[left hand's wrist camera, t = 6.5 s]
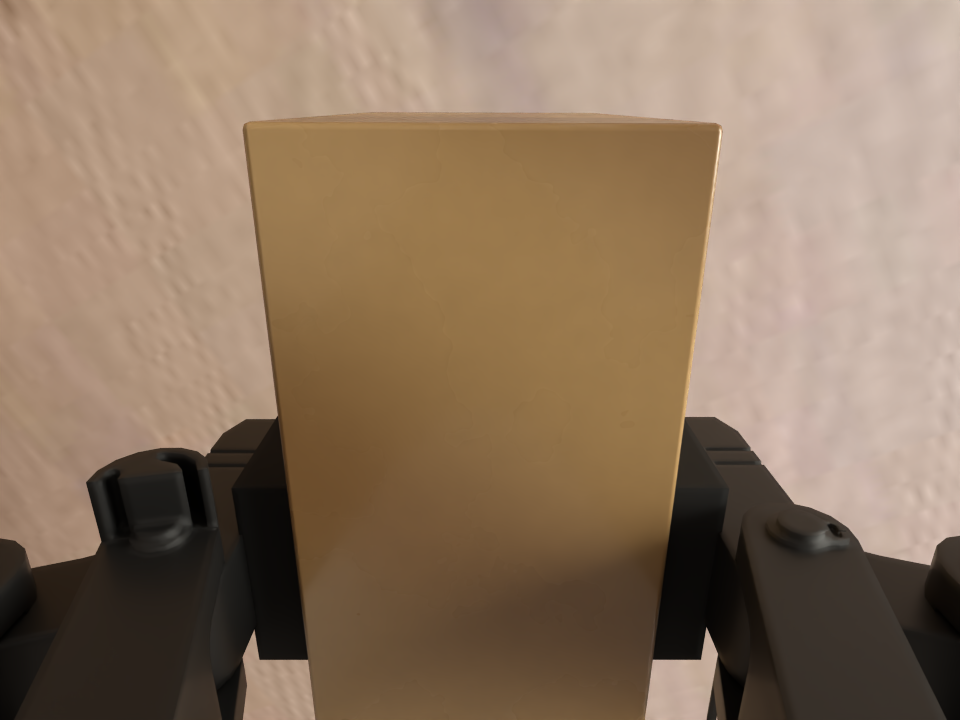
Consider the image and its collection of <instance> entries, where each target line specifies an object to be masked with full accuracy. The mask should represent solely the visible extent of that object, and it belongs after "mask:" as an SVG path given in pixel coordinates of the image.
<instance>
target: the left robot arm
mask: <svg viewBox="0 0 960 720" xmlns="http://www.w3.org/2000/svg"><path fill="white" fill-rule="evenodd" d="M86 484H87V488H88V492H89V495H90V499H91V503H92V507H93V511H94V515H95V518H96V522H97V526H98V530H99V534H100V538H101V541H102V542H101V544H100V546H99V548H98V550H97V552H96V554H95V555H93V556H89V557H85V558H81V559H76V560H71V561H66V562H61V563H56V564H51V565H46V566H41V567H36V568H31V567H30V564H29V561H28V557H27V554H26V551H25V548H23V547H22V546H21V545H20V544H18V543H17V542H16V541H13V540H6V539H0V720H243V713H244V705H245V697H246V688H247V682H246V675H245V669H244V663H243V658H242V657H243V655H244V652H245V650H246V648H247V645H248V643H249V641H250V638H251V636H252V633H253V631H254V629H255V635H256V641H257V647H258V653H259V659H260V660H308V655H307V646H306V638H305V630H304V622H303V614H302V606H301V598H300V590H299V582H298V574H297V566H296V557H295V549H294V541H293V533H292V525H291V517H290V509H289V501H288V493H287V485H286V476H285V468H284V460H283V452H282V444H281V436H280V428H279V420H278V416H277V418H276V419H246V420H244V421H243V422H241V423H239V424H238V425H236V426H235V427H233V428H231V429H230V430H228V431H226V432H225V433H223V434H222V436H221V437H220V438H219V440H218V441H217V442H216V444H215V445H214V446H213V447H212V449H211V452H210V453H208V454H207V455H206V456H205V457H204V456H203V455H201V454H200V453H199V452H197V451H193V450H189V449H184V448H159V449H154V450H148V451H143V452H138V453H135V454H132V455H129V456H126V457H123V458H121V459H118V460H115V461H114V462H112V463H110V464H108V465H107V466H105V467H103V468H101V469H100V470H98V471H97V472H96V473H95V474H94V475H93V476H92V477H91V478H90V479H89V480H88V481H87V482H86ZM706 627H707V629H708V631H709V634H710V636H711V638H712V641H713V643H714V645H715V648H716V650H717V652H718V658H717V663H716V669H715V674H714V680H713V686H712V691H711V697H710V702H709V708H708V714H707V720H716V718H717V720H960V536H956V537H949V538H946V539H945V540H943V541H942V542H941V543H940V544H938V545H937V547H936V550H935V553H934V556H933V559H932V563H931V566H930V565H924V564H919V563H914V562H909V561H904V560H899V559H894V558H889V557H884V556H879V555H875V554H871V553H867V552H864V551H863V549H862V547H861V545H860V543H859V541H858V540H857V538H856V537H855V536H854V535H853V533H852V532H851V531H850V530H849V529H848V528H847V527H846V526H844V525H843V524H842V523H840V522H839V521H837V520H836V519H834V518H833V517H831V516H829V515H827V514H824V513H822V512H819V511H817V510H814V509H812V508H809V507H805V506H800V505H796V504H794V503H793V502H792V500H791V499H790V498H789V497H788V495H787V494H786V493H785V491H784V490H783V489H782V488H781V486H780V485H779V484H778V482H777V481H776V480H775V479H774V477H773V476H772V475H771V473H770V472H769V471H768V470H767V468H766V467H765V466H764V465H761V461H760V459H759V458H758V457H757V455H756V454H755V453H754V452H753V451H751V450H750V446H749V445H748V444H747V443H746V441H745V440H744V439H743V437H742V436H741V435H740V434H739V432H738V431H736V430H735V429H733V428H732V427H730V426H728V425H727V424H725V423H723V422H722V421H720V420H719V419H717V418H715V417H685V420H684V427H683V435H682V442H681V450H680V457H679V465H678V472H677V480H676V487H675V495H674V503H673V510H672V518H671V525H670V533H669V540H668V548H667V555H666V563H665V570H664V578H663V586H662V593H661V601H660V608H659V616H658V623H657V631H656V638H655V646H654V653H653V660H701V656H702V650H703V644H704V638H705V632H706Z"/></svg>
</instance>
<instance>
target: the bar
mask: <svg viewBox="0 0 960 720" xmlns="http://www.w3.org/2000/svg"><path fill="white" fill-rule="evenodd" d="M722 133H723V131H722V127H721V125H718V124H716V123H706V122H694V121H682V120H670V119H658V118H645V117H633V116H621V115H609V114H597V113H403V112H370V113H357V114H344V115H331V116H317V117H304V118H291V119H278V120H265V121H252V122H248V123H246V124H244V127H243V137H244V145H245V153H246V161H247V169H248V177H249V185H250V193H251V201H252V209H253V217H254V226H255V234H256V242H257V250H258V258H259V266H260V274H261V282H262V290H263V298H264V307H265V315H266V323H267V331H268V339H269V347H270V355H271V363H272V371H273V379H274V387H275V396H276V404H277V412H278V420H279V428H280V436H281V444H282V452H283V460H284V468H285V476H286V485H287V493H288V501H289V509H290V517H291V525H292V533H293V541H294V549H295V557H296V566H297V574H298V582H299V590H300V598H301V606H302V614H303V622H304V630H305V638H306V646H307V655H308V663H309V671H310V679H311V687H312V695H313V703H314V711H315V719H316V720H645V714H646V706H647V699H648V691H649V684H650V676H651V669H652V661H653V653H654V646H655V638H656V631H657V623H658V616H659V608H660V601H661V593H662V586H663V578H664V570H665V563H666V555H667V548H668V540H669V533H670V525H671V518H672V510H673V503H674V495H675V487H676V480H677V472H678V465H679V457H680V450H681V442H682V435H683V427H684V420H685V412H686V405H687V397H688V389H689V382H690V374H691V367H692V359H693V352H694V344H695V337H696V329H697V322H698V314H699V306H700V299H701V291H702V284H703V276H704V269H705V261H706V254H707V246H708V239H709V231H710V223H711V216H712V208H713V201H714V193H715V186H716V178H717V171H718V163H719V156H720V148H721V141H722Z"/></svg>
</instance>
